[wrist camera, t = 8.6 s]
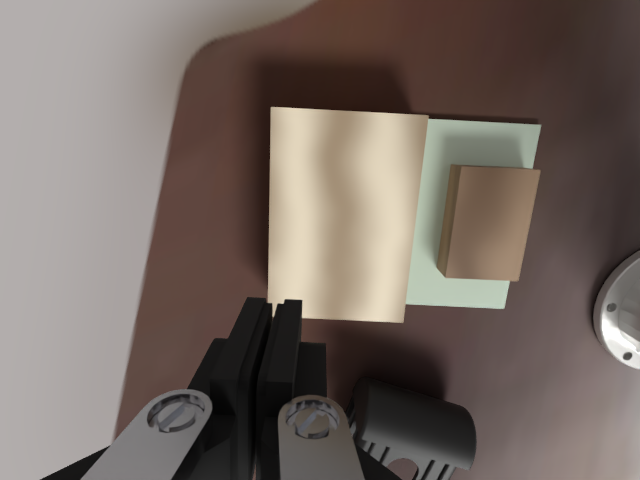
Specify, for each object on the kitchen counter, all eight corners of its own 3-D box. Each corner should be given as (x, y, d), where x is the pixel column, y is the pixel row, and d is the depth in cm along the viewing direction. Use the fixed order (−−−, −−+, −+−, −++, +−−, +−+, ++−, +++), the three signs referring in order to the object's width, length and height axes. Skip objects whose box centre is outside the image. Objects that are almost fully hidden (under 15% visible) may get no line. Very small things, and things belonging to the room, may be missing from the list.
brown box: (461, 166, 28) (450, 164, 30) (445, 277, 30) (436, 268, 32) (540, 169, 28) (523, 167, 30) (518, 281, 30) (504, 271, 32)
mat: (538, 125, 30) (541, 124, 29) (502, 306, 34) (504, 308, 33) (408, 118, 29) (409, 117, 29) (388, 301, 34) (389, 303, 33)
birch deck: (414, 118, 29) (428, 115, 26) (393, 301, 34) (403, 322, 30) (277, 111, 29) (270, 106, 25) (273, 295, 34) (267, 316, 30)
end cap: (457, 388, 36) (487, 442, 30) (428, 443, 38) (450, 506, 32) (362, 358, 35) (372, 408, 29) (337, 416, 37) (341, 475, 31)
